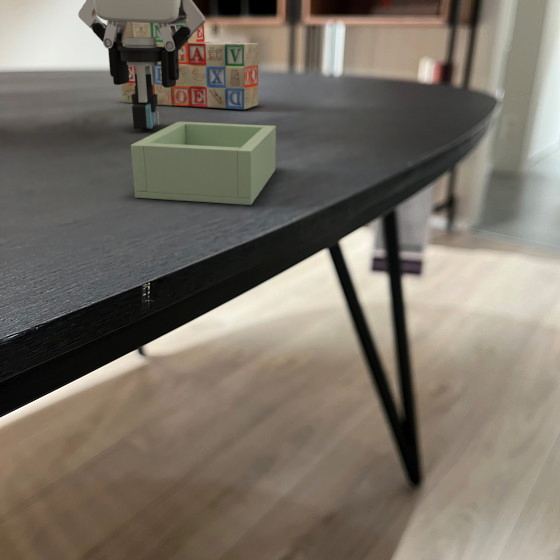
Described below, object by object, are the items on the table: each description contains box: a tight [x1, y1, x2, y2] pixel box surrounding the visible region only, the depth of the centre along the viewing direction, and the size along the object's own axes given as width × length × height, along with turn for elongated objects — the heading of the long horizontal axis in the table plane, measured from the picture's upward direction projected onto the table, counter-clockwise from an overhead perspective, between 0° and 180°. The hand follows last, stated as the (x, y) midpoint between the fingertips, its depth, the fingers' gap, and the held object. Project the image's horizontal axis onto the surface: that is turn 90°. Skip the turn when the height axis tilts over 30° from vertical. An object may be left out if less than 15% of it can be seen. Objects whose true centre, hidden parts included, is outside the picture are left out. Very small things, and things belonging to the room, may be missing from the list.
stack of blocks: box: [120, 19, 259, 110], centre depth 89 cm, size 21×6×12 cm, turn 71°
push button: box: [117, 37, 164, 130], centre depth 69 cm, size 7×5×10 cm
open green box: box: [130, 121, 277, 206], centre depth 47 cm, size 9×11×4 cm
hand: (145, 83), depth 69 cm, fingers closed on push button, 5 cm apart
